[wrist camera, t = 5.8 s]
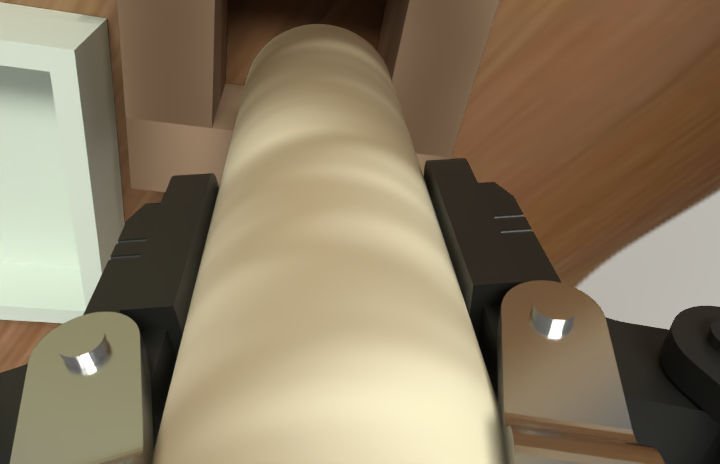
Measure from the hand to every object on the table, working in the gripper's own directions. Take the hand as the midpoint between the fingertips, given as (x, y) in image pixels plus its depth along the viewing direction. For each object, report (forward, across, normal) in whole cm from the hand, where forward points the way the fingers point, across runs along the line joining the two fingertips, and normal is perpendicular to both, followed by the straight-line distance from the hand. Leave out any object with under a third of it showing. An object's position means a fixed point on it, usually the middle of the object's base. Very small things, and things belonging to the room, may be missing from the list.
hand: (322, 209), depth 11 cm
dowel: (+5, 0, 0) cm, 5 cm away
